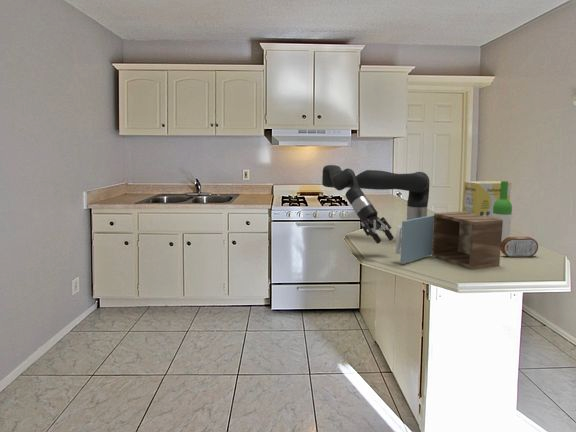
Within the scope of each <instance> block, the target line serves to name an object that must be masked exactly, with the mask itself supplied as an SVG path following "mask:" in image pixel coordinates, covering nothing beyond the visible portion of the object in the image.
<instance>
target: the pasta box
mask: <svg viewBox="0 0 576 432" xmlns="http://www.w3.org/2000/svg"><path fill="white" fill-rule="evenodd" d="M511 188H512V182H508V192H507V199H508V200H509V201H510V202H511V190H512V189H511ZM500 189H501V181H500V180H499V181H498V180H492V181H491V180H487V181H486V180H484V181H483V180H480V181H479V180H478V181H477V180H476V181H474V180H473V181H464V182H463V192H462V193H463V194H462V195H463V196H462V210H461V212H466V213H471V214H476V215H481V216H486V217H491V218H492V217H493V206H494V203H495V202H496V201H497V200H499V198H500Z"/></svg>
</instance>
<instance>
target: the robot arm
mask: <svg viewBox="0 0 576 432" xmlns="http://www.w3.org/2000/svg"><path fill="white" fill-rule="evenodd" d="M321 178H322V179H321V180H322V181H321V183H322V186H324V187H325V188H334V189H335V190H337V191H343V190H345V189H346V188H348V190H347V191H346V193H345V198H346V199H347V201H348V202H349V204H350V206H351V208H352V209H353V211H354V212H355V214H356V216H357V217H358V218H359V220H360V221H361V223H359V224H360V227H361V229H363V231H364V233H365V235H366V236H367V237H369V236H370V237H372V239H373V240H374V242H375V243H376V244H380V243H381V242H382V239H381V237H380V236H379V235H378V233H377V231H379V232H382V233H383V234H384V235H385V236H386V238H387V239H388V241H392V240H394V238H395V236H394V235H393V234H392V232H391V231H390V230H391V229H392V226H391V225H390V223H389V222H388V221H387V219H385V217H384V216H382V217H381V218H380V217H378V211H377V209H376V208H375V207H374V205H373V204H372V202H371V201H370V200H369V199H368V198H367V196H366V195H365V193H364V191H362V189H364V190H365V189H366V190H379V191H380V190H383V191H384V190H387V191H388V190H400V191H406V192H407V191H408V198H407V202H406V220H411V219H416V218H421V217H426V216H428V206H429V205H428V204H429V198H430V196H429V195H430V177H429V176H428V174H427V173H425V172H423V171H415V172H411V173H395V172H390V171H384V170H377V169H376V170H375V169H367V170H363V171H361V172H359V173H358V174H357V175H356V173H355V172H354V170H353V169H352V168H345V169H343V170H342V168H341V167H340V166H339V165H335V164H328V165H327V164H326V165H325V166H323V168H322V177H321Z"/></svg>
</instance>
